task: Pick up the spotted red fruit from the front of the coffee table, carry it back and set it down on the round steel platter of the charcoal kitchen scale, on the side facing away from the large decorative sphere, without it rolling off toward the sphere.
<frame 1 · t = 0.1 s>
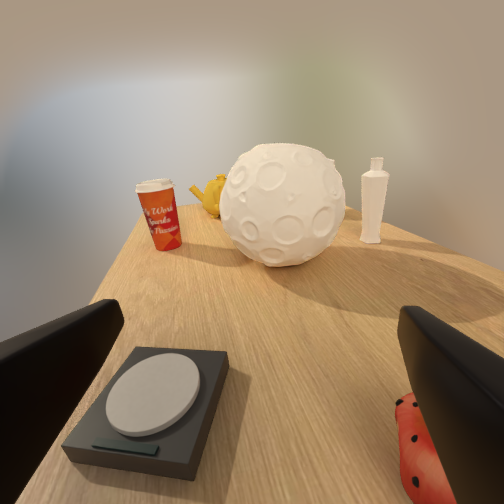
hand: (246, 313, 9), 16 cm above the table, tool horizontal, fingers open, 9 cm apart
paper cup: (169, 246, 61), on the table
spotted red fruit: (447, 503, 17), on the table
decorative sphere: (284, 261, 48), on the table
teapot: (224, 213, 81), on the table
white faceted vase: (371, 241, 52), on the table
scale: (161, 407, 24), on the table
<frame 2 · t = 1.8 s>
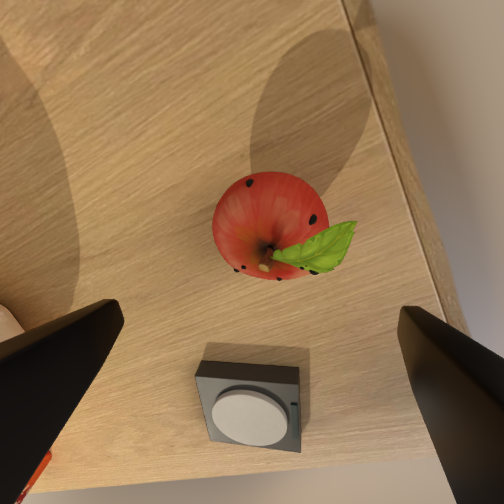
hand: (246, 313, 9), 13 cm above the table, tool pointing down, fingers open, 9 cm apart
paper cup: (36, 448, 44), on the table
spotted red fruit: (280, 204, 20), on the table
decorative sphere: (1, 319, 32), on the table
scale: (253, 398, 29), on the table
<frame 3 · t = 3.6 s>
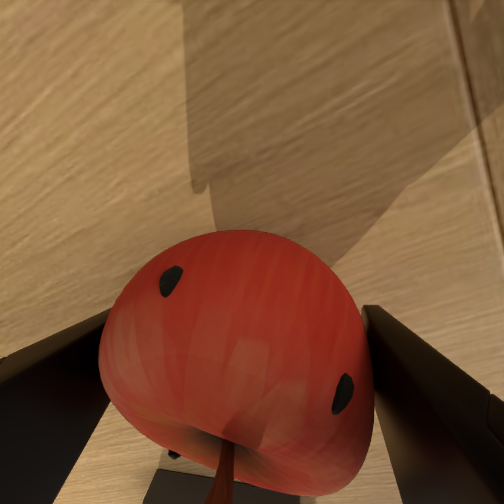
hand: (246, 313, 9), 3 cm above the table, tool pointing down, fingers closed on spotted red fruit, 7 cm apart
spotted red fruit: (266, 268, 11), on the table, touching gripper
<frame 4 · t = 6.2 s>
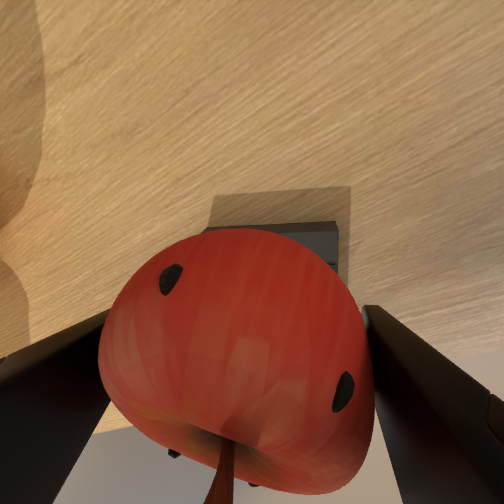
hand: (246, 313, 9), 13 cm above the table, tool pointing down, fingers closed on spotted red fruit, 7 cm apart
spotted red fruit: (266, 267, 11), point 10 cm above the table, touching gripper
scale: (273, 280, 23), on the table
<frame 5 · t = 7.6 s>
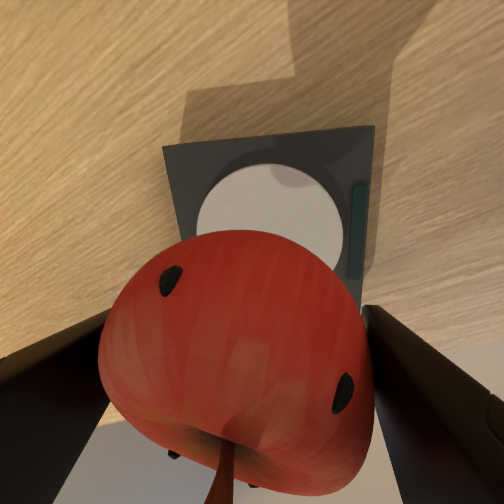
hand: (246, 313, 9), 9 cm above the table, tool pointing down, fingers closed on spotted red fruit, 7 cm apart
spotted red fruit: (265, 267, 11), point 6 cm above the table, touching gripper
scale: (271, 225, 16), on the table
when the fingers open (5 cm above the table, at t = 9.0 s): spotted red fruit stays where it is, resting on scale.
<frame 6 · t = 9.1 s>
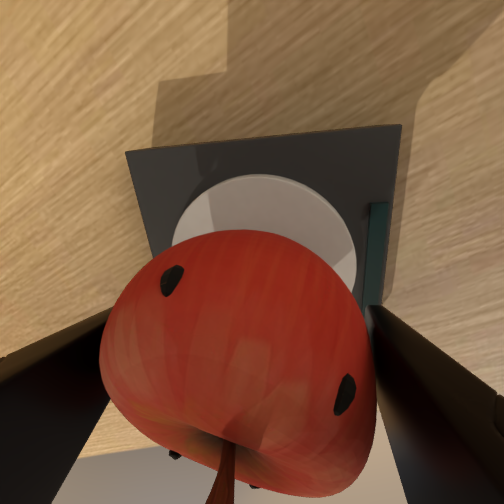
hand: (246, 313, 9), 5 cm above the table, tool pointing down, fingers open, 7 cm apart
spotted red fruit: (267, 267, 11), point 2 cm above the table, touching scale
scale: (266, 246, 13), on the table
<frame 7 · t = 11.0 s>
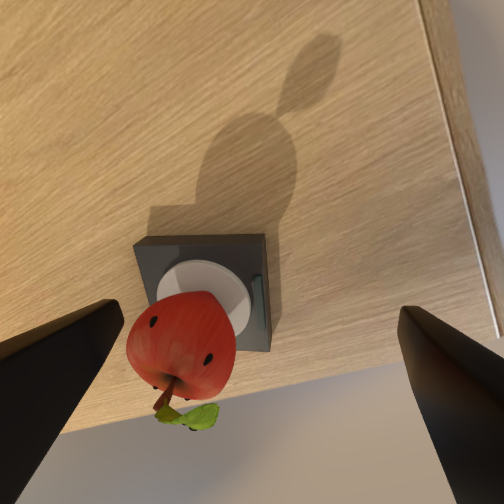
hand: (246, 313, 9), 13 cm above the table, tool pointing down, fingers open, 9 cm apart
spotted red fruit: (207, 303, 22), point 2 cm above the table, touching scale
scale: (211, 288, 24), on the table
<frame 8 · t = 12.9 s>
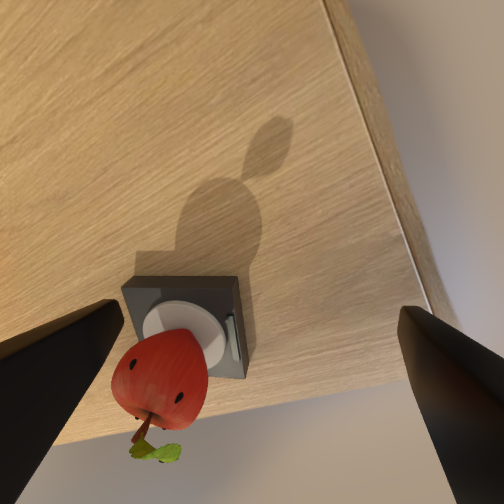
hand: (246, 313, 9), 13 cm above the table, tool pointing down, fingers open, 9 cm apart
spotted red fruit: (187, 338, 24), point 2 cm above the table, touching scale
scale: (193, 321, 26), on the table
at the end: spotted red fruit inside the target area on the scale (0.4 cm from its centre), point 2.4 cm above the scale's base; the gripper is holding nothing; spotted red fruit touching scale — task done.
